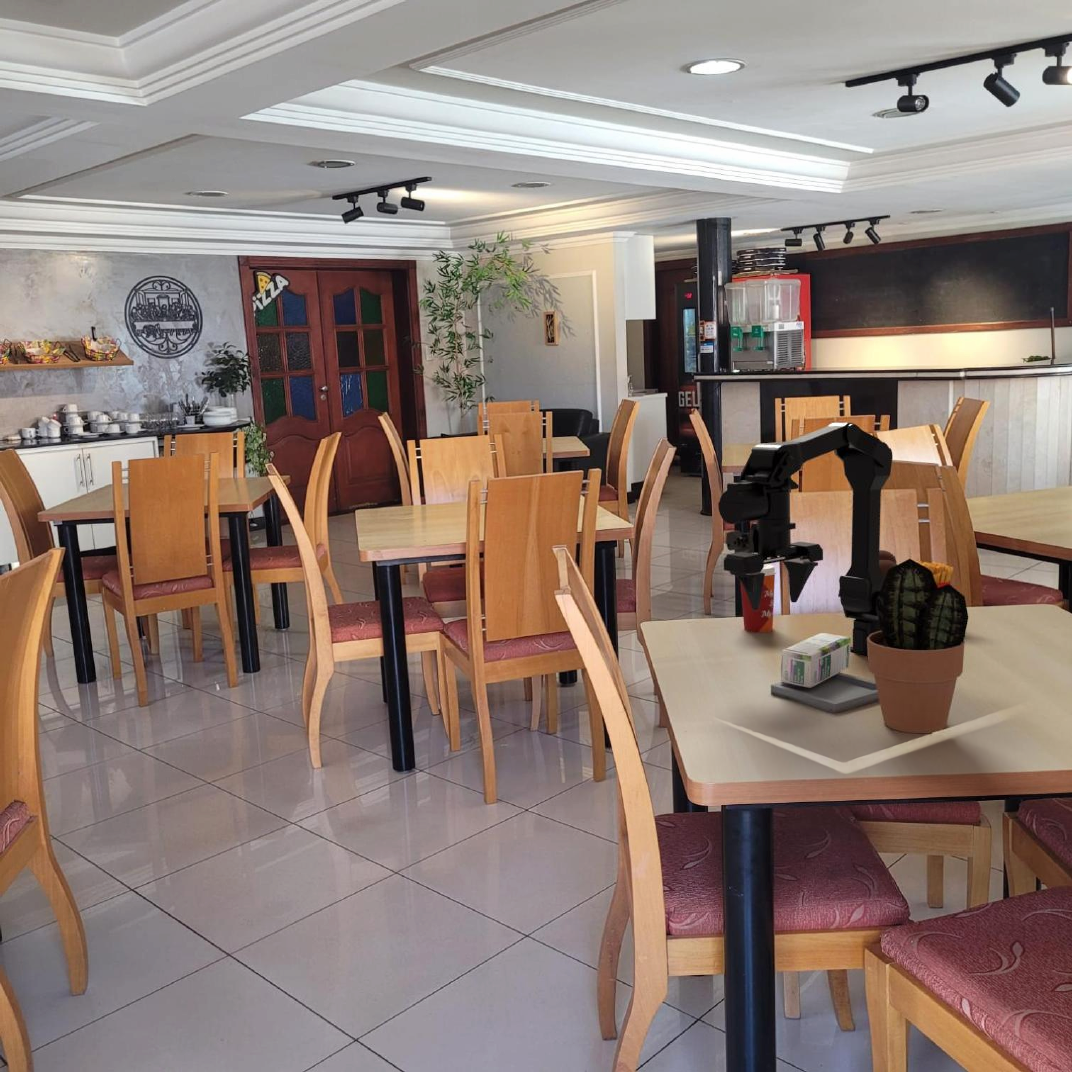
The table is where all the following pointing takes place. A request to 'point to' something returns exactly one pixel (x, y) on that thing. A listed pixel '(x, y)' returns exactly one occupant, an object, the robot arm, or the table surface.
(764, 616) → the paper cup
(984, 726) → the table surface
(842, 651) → the syrup box
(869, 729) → the table surface
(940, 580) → the french fries
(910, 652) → the potted plant
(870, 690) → the serving tray
